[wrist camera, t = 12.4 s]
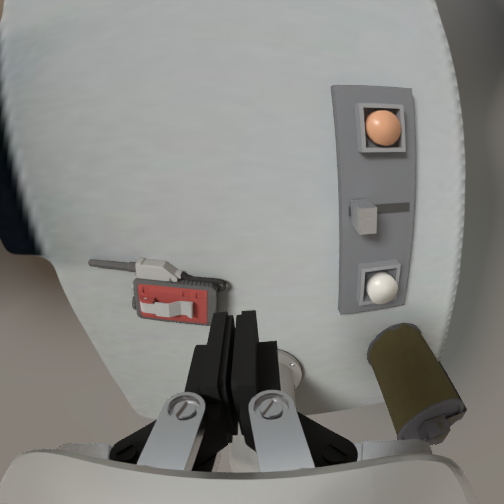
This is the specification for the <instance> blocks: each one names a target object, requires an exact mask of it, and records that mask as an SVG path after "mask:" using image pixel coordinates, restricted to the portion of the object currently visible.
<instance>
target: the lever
mask: <svg viewBox="0 0 504 504" xmlns="http://www.w3.org/2000/svg"><path fill="white" fill-rule="evenodd" d="M351 225H352V226H353V227H354V228H355V230H356V231H357V232H358V233H359V234H360V235H364V234H375V233H376V232H377V207H376V206H375V205H373V204H372V203H371V202H370V201H368V200H367V199H358V200H351Z"/></svg>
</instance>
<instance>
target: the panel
mask: <svg viewBox="0 0 504 504" xmlns="http://www.w3.org/2000/svg"><path fill="white" fill-rule="evenodd" d="M331 94H332V103H333V113H334V124H335V137H336V151H337V167H338V189H339V231H340V259H339V301H338V310H339V312H340V315H342V314H349V313H356V312H362V311H369V310H375V309H382V308H388V307H393V306H399V305H404V299H405V292H406V286H407V279H408V271H409V263H410V255H411V245H412V234H413V221H414V204H415V127H414V110H413V98H412V89H410V88H399V87H385V86H364V85H333V86H331ZM381 110H385V111H389V112H391V113H393V114H394V115H395V116H396V117H397V118H398V120H399V122H400V126H401V133H400V136H399V138H398V140H397V141H396V142H395V143H393V144H391V145H387V146H385V145H380V144H376V143H373V142H372V141H370V140H369V139H368V138H367V136H366V135H365V122H364V120H365V118H366V116H367V115H368V114H369V113H371V112H373V111H381ZM358 199H367V200H368V201H370V202H371V203H372V204H373V205H375V206H376V207H377V232H376V233H375V234H364V235H360V234H359V233H358V232H357V231H356V230H355V228H354V227H353V226H352V225H351V200H358ZM378 271H386V272H388V273H390V274H391V276H392V277H393V278H394V280H395V281H396V282H397V285H398V290H397V293H396V295H395V297H394V298H393V299H392V300H391V301H389V302H387V303H385V304H376V303H374V302H373V301H372V300H371V299H370V297H369V295H368V293H367V292H366V282H367V280H368V279H369V277H370V276H371V275H373V274H374V273H376V272H378Z"/></svg>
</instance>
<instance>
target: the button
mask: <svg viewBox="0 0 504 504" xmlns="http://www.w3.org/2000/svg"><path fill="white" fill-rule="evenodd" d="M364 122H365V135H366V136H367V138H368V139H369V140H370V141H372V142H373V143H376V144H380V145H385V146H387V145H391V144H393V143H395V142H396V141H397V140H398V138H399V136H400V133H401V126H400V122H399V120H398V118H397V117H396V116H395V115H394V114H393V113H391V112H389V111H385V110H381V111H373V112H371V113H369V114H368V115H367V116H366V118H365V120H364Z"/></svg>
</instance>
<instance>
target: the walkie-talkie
mask: <svg viewBox="0 0 504 504" xmlns="http://www.w3.org/2000/svg"><path fill="white" fill-rule="evenodd" d="M88 264H89V265H90V266H94V267H102V268H111V269H120V270H129V271H131V272H136V275H134V277H133V279H134V281H133V283H132V285H131V289H134V297H133V300H132V306H133V308H134V309H136V310H137V315H138V316H139V317H140V318H144V319H151V320H159V321H167V322H176V323H177V322H179V323H187V324H195V325H196V324H197V325H206V326H211V322H212V317H213V313H217V305H218V291H219V292H221V291H224V290H225V288H226V282H225V281H224V280H221V279H216V278H206V277H205V278H204V277H194V276H193V277H192V276H188V275H186V274H184V273H182V271H179V270H178V269H177V268H175V267H174V266H173V265H171V264H170V263H169V262H167V261H160V260H149V259H145V258H139V259H138V261H137V262H130V263H126V262H116V261H103V260H93V259H90V260H89V261H88ZM218 283H220V284H222V285H223V287H218Z"/></svg>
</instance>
